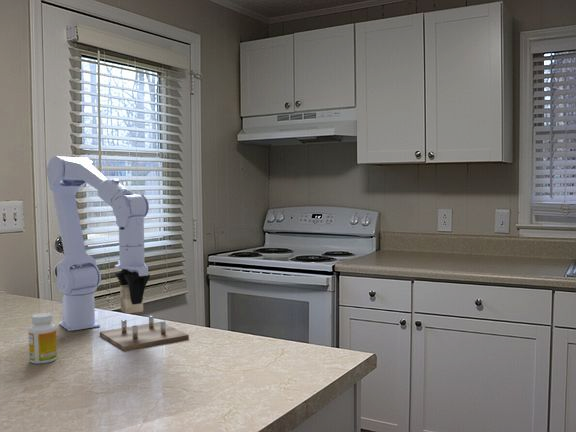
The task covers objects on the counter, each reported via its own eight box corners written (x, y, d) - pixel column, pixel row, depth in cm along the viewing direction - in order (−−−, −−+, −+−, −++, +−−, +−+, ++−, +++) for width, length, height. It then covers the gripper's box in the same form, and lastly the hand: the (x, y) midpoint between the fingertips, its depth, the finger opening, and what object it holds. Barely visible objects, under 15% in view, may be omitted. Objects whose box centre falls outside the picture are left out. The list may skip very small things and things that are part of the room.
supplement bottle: (61, 356, 126) (60, 312, 125) (49, 364, 120) (47, 318, 120) (38, 356, 126) (36, 311, 126) (24, 363, 121) (22, 317, 120)
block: (120, 310, 139) (120, 285, 139) (136, 308, 141) (136, 283, 141) (126, 313, 136) (126, 288, 135) (143, 311, 138) (142, 286, 138)
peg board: (99, 335, 142) (99, 319, 142) (160, 325, 152) (160, 310, 152) (123, 351, 130) (123, 333, 129) (188, 338, 139) (188, 322, 139)
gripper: (104, 243, 141) (106, 299, 142) (126, 249, 130) (127, 309, 130) (132, 241, 145) (134, 295, 146) (156, 247, 134) (157, 305, 135)
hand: (133, 302), depth 139 cm, fingers closed on block, 4 cm apart
